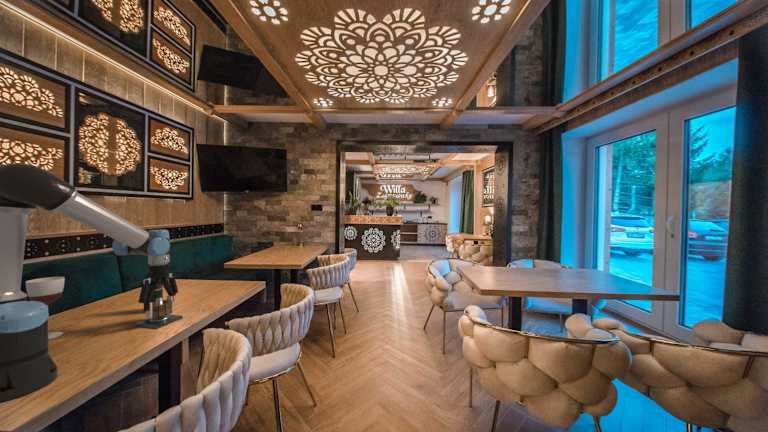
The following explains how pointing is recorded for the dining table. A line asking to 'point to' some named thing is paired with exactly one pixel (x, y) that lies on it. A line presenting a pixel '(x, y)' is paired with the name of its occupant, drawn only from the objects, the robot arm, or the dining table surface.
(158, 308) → the ring
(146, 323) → the post
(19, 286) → the robot arm
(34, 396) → the dining table surface
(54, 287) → the wineglass
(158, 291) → the beer bottle
